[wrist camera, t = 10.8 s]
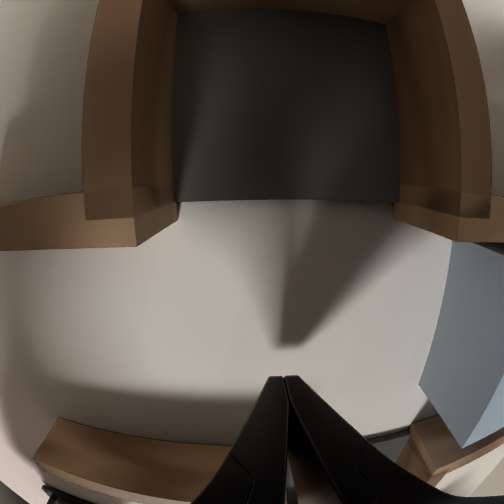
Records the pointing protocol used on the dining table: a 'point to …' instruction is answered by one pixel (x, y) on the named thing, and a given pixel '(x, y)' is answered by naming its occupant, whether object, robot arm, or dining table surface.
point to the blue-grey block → (469, 344)
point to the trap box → (266, 166)
